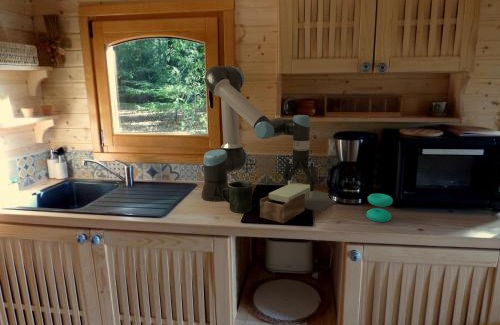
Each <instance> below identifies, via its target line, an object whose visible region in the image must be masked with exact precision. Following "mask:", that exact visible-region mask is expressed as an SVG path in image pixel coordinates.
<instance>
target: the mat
mask: <svg viewBox="0 0 500 325" xmlns="http://www.w3.org/2000/svg"><path fill="white" fill-rule="evenodd" d="M328 193H329V192H324V191H319V190H314V191H312V197H311V198H308V193H307V194H305V210H309V211H312V212H313V211H314V212H317V213H322V212H324V211H326V210H327V209H328V208H330V207H331V206H333V205H334V204H336V203H337V202H336V201H334V200H331V199H330V198H329V196H328Z"/></svg>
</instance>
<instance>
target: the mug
mask: <svg viewBox="0 0 500 325" xmlns="http://www.w3.org/2000/svg"><path fill="white" fill-rule="evenodd" d="M228 186H229V187H227V188H224V189H223V190H222V196H223V199H224V200H223V201H225V202H226V203H228V204H229V210H230V211H231V212H233V213H237V214H244V213H249V212H251V211H252V210H253V187H254V184H253V182H251V181H250V182H249V181H245V180H244V181H243V180H241V181H232V182H231V181H230V183H229V182H228ZM224 190H229V199H227V198H226V197H225V194H224Z"/></svg>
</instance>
